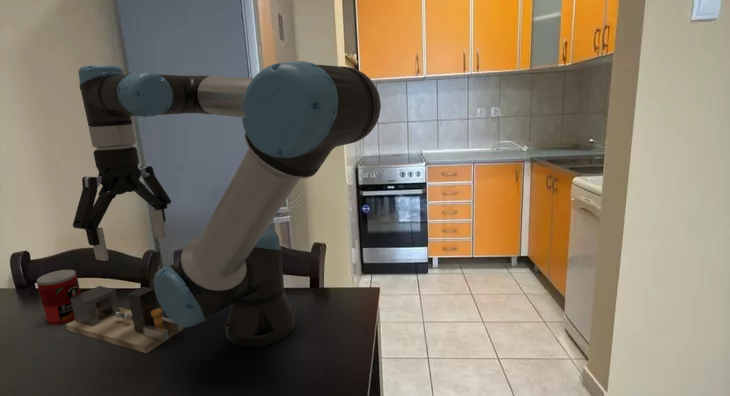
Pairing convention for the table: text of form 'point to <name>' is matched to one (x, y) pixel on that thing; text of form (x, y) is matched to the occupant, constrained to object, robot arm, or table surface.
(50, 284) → the canned food
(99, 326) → the rail board
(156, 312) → the keeper post
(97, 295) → the block
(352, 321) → the table surface
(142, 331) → the two-pronged fork block
